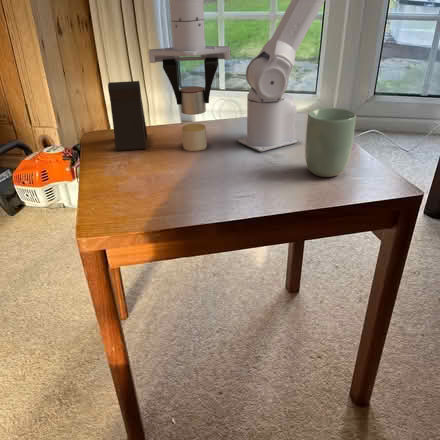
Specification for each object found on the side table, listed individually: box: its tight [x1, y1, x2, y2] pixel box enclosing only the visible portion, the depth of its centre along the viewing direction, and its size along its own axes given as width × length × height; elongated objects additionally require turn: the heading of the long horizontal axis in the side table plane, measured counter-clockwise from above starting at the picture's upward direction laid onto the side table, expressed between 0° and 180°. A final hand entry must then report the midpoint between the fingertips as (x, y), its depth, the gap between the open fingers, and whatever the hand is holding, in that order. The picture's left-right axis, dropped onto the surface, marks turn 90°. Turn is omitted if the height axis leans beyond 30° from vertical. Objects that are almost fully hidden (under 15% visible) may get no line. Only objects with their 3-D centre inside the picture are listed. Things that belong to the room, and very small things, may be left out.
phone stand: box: [107, 80, 148, 152], centre depth 92 cm, size 9×6×12 cm, turn 5°
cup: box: [304, 107, 357, 178], centre depth 76 cm, size 8×8×10 cm
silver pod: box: [179, 85, 207, 116], centre depth 86 cm, size 5×5×4 cm
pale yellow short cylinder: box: [181, 123, 208, 152], centre depth 91 cm, size 5×5×4 cm
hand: (192, 102), depth 86 cm, fingers closed on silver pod, 5 cm apart
